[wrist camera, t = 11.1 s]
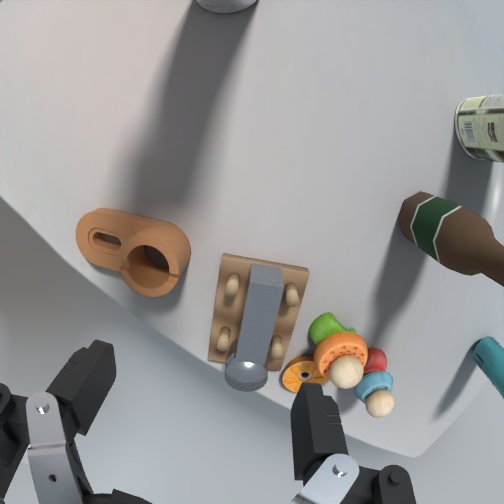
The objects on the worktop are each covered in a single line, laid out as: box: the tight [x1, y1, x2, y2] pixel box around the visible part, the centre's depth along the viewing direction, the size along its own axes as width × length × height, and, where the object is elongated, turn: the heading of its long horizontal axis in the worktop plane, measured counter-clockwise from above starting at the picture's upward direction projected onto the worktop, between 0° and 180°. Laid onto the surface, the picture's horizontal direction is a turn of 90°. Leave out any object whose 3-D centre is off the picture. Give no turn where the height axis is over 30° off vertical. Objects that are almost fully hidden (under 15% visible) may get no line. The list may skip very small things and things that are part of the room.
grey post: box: [225, 263, 284, 391], centre depth 40 cm, size 18×6×6 cm, turn 170°
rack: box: [208, 253, 309, 371], centre depth 42 cm, size 18×12×6 cm, turn 170°
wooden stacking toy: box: [282, 312, 394, 418], centre depth 42 cm, size 18×17×12 cm
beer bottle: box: [398, 191, 504, 287], centre depth 27 cm, size 8×8×24 cm
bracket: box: [76, 208, 191, 297], centre depth 38 cm, size 18×8×7 cm, turn 76°
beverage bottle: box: [473, 336, 504, 399], centre depth 37 cm, size 6×7×20 cm
